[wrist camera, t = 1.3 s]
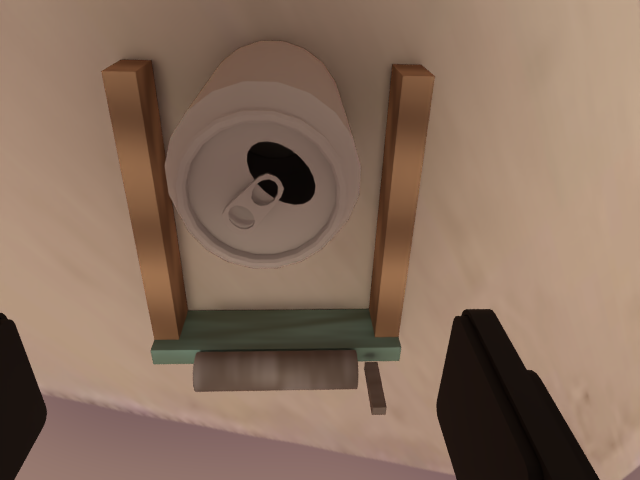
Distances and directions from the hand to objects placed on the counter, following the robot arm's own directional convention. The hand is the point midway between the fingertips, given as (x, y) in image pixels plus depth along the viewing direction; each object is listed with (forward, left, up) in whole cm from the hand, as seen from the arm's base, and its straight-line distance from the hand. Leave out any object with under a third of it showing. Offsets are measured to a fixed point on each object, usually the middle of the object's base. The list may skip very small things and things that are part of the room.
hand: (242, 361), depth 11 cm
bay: (+6, 0, -20) cm, 20 cm away
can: (0, 0, -20) cm, 20 cm away
